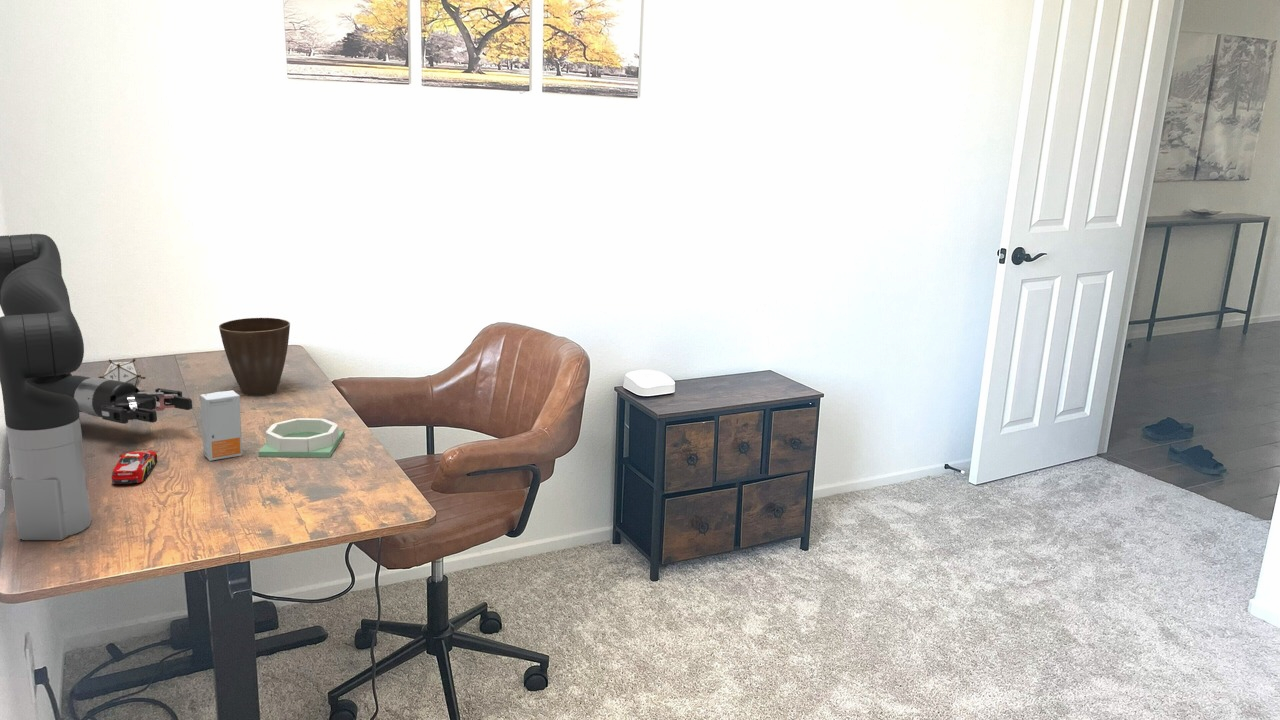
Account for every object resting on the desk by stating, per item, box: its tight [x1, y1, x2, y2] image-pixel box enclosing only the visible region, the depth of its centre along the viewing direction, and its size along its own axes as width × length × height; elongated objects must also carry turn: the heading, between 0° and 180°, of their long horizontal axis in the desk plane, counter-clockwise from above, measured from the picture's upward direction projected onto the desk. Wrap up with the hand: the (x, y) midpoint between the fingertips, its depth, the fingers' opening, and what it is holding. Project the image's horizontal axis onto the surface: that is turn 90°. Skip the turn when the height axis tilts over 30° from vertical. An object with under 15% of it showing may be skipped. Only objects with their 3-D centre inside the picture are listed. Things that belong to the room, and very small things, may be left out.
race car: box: [111, 449, 158, 485], centre depth 161 cm, size 13×5×4 cm, turn 14°
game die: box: [97, 358, 146, 388], centre depth 204 cm, size 9×8×10 cm
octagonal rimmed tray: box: [258, 417, 345, 458], centre depth 178 cm, size 13×13×4 cm
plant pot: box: [218, 317, 291, 396], centre depth 209 cm, size 15×15×16 cm
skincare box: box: [199, 390, 243, 462], centre depth 170 cm, size 6×4×12 cm
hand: (173, 410), depth 173 cm, fingers open, 8 cm apart
